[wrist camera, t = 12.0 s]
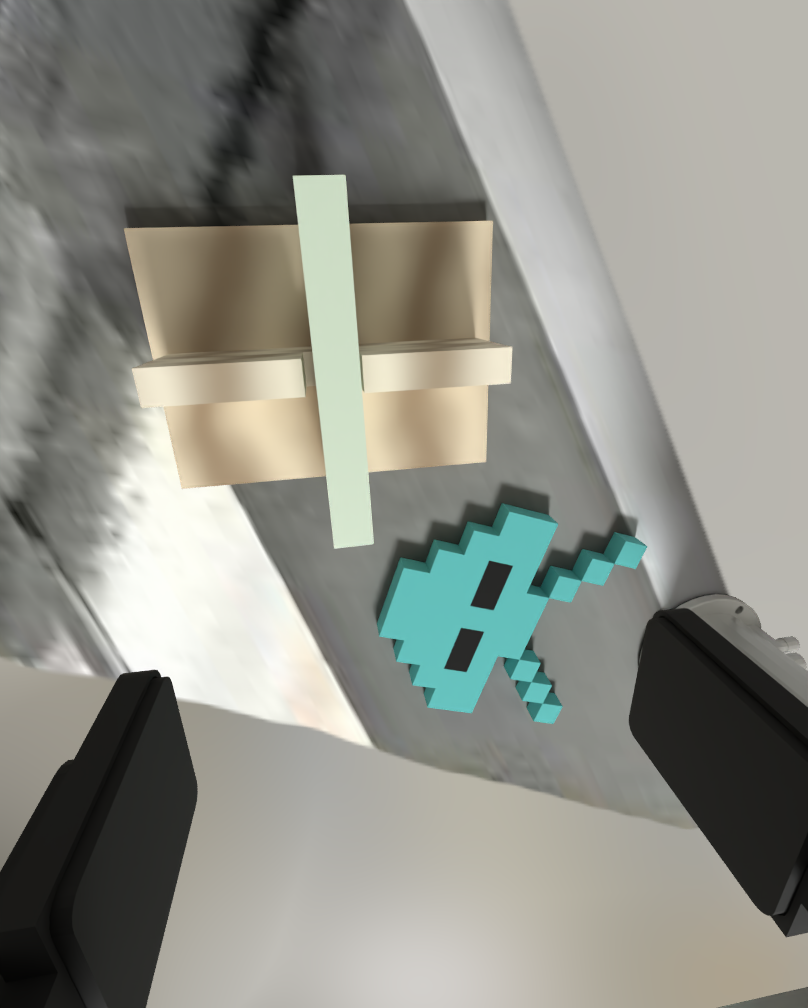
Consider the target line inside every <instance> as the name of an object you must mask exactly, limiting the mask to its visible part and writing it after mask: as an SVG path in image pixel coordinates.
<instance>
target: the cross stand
mask: <svg viewBox="0 0 808 1008" xmlns="http://www.w3.org/2000/svg"><path fill="white" fill-rule="evenodd" d="M349 227H350V240H351V253H352V266H353V280H354V293H355V306H356V319H357V332H358V345H359V358H360V371H361V384H362V397H363V410H364V423H365V436H366V449H367V462H368V472H377V471H388V470H399V469H410V468H422V467H433V466H444V465H456V464H467V463H478V462H486V443H487V408H488V385H495V384H510V383H511V364H512V347H510V346H506V345H502V344H498V343H494V342H490V341H489V336H490V301H491V265H492V229H493V221H460V222H411V223H362V224H349ZM124 232H125V237H126V241H127V245H128V250H129V254H130V259H131V263H132V268H133V272H134V277H135V281H136V286H137V290H138V295H139V299H140V304H141V308H142V313H143V317H144V321H145V326H146V330H147V335H148V339H149V344H150V348H151V353H152V357H153V360H152V361H150V362H147V363H145V364H142V365H139V366H137V367H134V368H132V372H133V376H134V380H135V384H136V388H137V392H138V396H139V401H140V405H141V408H150V407H164V411H165V415H166V420H167V424H168V429H169V433H170V438H171V442H172V447H173V451H174V455H175V460H176V464H177V469H178V473H179V478H180V482H181V487H182V489H185V488H196V487H207V486H218V485H230V484H241V483H252V482H264V481H275V480H286V479H297V478H309V477H320V476H326V469H325V460H324V451H323V442H322V433H321V424H320V415H319V406H318V397H317V388H316V379H315V371H314V362H313V353H312V344H311V335H310V326H309V317H308V308H307V299H306V290H305V281H304V272H303V263H302V254H301V245H300V236H299V227H298V225H263V226H214V227H165V228H124Z"/></svg>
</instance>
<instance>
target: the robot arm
mask: <svg viewBox="0 0 808 1008" xmlns="http://www.w3.org/2000/svg"><path fill="white" fill-rule="evenodd" d="M799 648H800V644H799V641H798V640H797V639H796V638H795V637H793V636H791V637H784V638H779V639H776V640H775V639H774V638H772V637H771V636H770V635H768V634H767V633H765V632H764V631H763V630H762V629H761V623H760V621H759V618H758V616H757V614H756V613H755V611H754V610H753V609H752V608H751V607H749V606H748V605H747V604H745V603H744V602H743V601H741V600H739V599H737V598H736V597H732V596H729V595H719V594H714V595H707V596H702V597H699V598H696V599H692V600H690V601H688V602H686V603H684V604H682V605H680V606H678V607H677V608H675V609H670V610H661V611H658V612H656V613H655V614H654V616H653V619H650V620H649V621H648V623H647V626H646V631H645V636H644V642H643V647H642V650H641V655H640V659H639V668H638V673H637V678H636V683H635V689H634V694H633V699H632V704H631V710H630V715H629V726H630V729H631V732H632V734H633V736H634V738H635V739H636V741H637V742H638V743H639V745H640V746H641V748H642V749H643V750H644V752H645V753H646V754H647V756H648V757H649V759H650V760H651V761H652V763H653V764H654V766H655V767H656V768H657V770H658V771H659V773H660V774H661V775H662V777H663V778H664V780H665V781H666V782H667V784H668V785H669V786H670V788H671V789H672V791H673V792H674V793H675V795H676V796H677V798H678V799H679V800H680V802H681V803H682V805H683V806H684V807H685V809H686V810H687V811H688V813H689V814H690V816H691V817H692V818H693V820H694V821H695V823H696V824H697V825H698V827H699V828H700V830H701V831H702V832H703V834H704V835H705V836H706V838H707V839H708V840H709V842H710V843H711V845H712V846H713V847H714V849H715V850H716V852H717V853H718V855H719V856H720V857H721V859H722V860H723V861H724V863H725V864H726V865H727V867H728V868H729V870H730V871H731V872H732V874H733V875H734V877H735V878H736V879H737V881H738V882H739V884H740V885H741V886H742V888H743V889H744V891H745V892H746V893H747V895H748V896H749V898H750V899H751V900H752V902H753V903H754V904H755V906H757V908H758V909H759V910H760V911H761V912H763V913H764V914H766V915H770V916H771V917H772V918H773V920H774V921H775V923H776V924H777V925H778V927H779V928H780V930H781V931H782V932H783V934H784V935H785V936H786V937H789V936H795V935H799V934H803V933H808V671H807V670H806V662H805V660H804V658H803V657H802V656H801V655H800V654H798V653H788V654H785V653H784V652H790V651H796V650H799ZM196 802H197V780H196V776H195V772H194V769H193V765H192V760H191V756H190V752H189V749H188V745H187V741H186V737H185V733H184V729H183V725H182V721H181V717H180V713H179V709H178V705H177V701H176V697H175V693H174V689H173V685H172V682H171V679H170V678H169V677H161V675H160V673H159V672H158V670H149V671H140V672H132V673H123V674H122V675H120V676H119V678H118V679H117V681H116V683H115V685H114V686H113V688H112V690H111V692H110V694H109V696H108V698H107V699H106V701H105V703H104V705H103V707H102V709H101V710H100V712H99V714H98V716H97V718H96V720H95V722H94V723H93V725H92V727H91V729H90V731H89V733H88V735H87V736H86V738H85V740H84V742H83V744H82V746H81V748H80V749H79V751H78V753H77V755H76V757H75V759H74V760H68V761H67V762H65V763H64V764H63V765H61V767H60V768H59V770H58V771H57V773H56V774H55V775H54V777H53V779H52V781H51V783H50V785H49V786H48V788H47V790H46V791H45V793H44V795H43V797H42V799H41V800H40V802H39V804H38V806H37V807H36V809H35V811H34V813H33V815H32V816H31V818H30V820H29V822H28V824H27V825H26V827H25V829H24V831H23V833H22V834H21V836H20V838H19V839H18V841H17V843H16V845H15V847H14V848H13V850H12V852H11V854H10V855H9V857H8V859H7V861H6V863H5V865H4V866H3V868H2V870H1V872H0V1008H146V1004H147V1000H148V996H149V992H150V988H151V984H152V980H153V976H154V972H155V968H156V964H157V960H158V956H159V952H160V948H161V944H162V940H163V936H164V932H165V928H166V924H167V920H168V916H169V912H170V908H171V903H172V900H173V895H174V891H175V887H176V883H177V879H178V875H179V871H180V867H181V863H182V859H183V855H184V851H185V847H186V843H187V839H188V834H189V831H190V826H191V823H192V819H193V814H194V811H195V806H196ZM718 1008H808V987H806V988H802V989H797V990H793V991H789V992H784V993H779V994H775V995H771V996H766V997H762V998H758V999H754V1000H749V1001H744V1002H740V1003H736V1004H731V1005H727V1006H723V1007H718Z"/></svg>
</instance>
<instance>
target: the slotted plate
mask: <svg viewBox="0 0 808 1008" xmlns="http://www.w3.org/2000/svg"><path fill="white" fill-rule="evenodd" d="M293 182H294V191H295V200H296V209H297V218H298V227H299V236H300V245H301V254H302V263H303V272H304V281H305V290H306V299H307V308H308V317H309V326H310V335H311V344H312V353H313V362H314V371H315V379H316V388H317V397H318V406H319V415H320V424H321V433H322V442H323V451H324V460H325V469H326V478H327V487H328V496H329V505H330V514H331V523H332V532H333V541H334V549H335V548H344V547H353V546H361V545H370V544H374V541H373V528H372V515H371V502H370V489H369V476H368V462H367V449H366V436H365V423H364V410H363V397H362V384H361V371H360V358H359V345H358V332H357V319H356V306H355V293H354V280H353V266H352V253H351V240H350V227H349V214H348V201H347V188H346V175H308V176H293Z"/></svg>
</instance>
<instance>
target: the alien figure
mask: <svg viewBox="0 0 808 1008" xmlns="http://www.w3.org/2000/svg"><path fill="white" fill-rule="evenodd" d="M557 526H558V523H557V522H556V521H554V520H553V519H552V518H551V517H550V516H549V515H546V514H542V513H539V512H535V511H531V510H527V509H523V508H519V507H515V506H511V505H507V504H504V503H502V504H501V506H500V509H499V511H498V514H497V516H496V519H495V521H494V523H493V526H492V527H490V526H485V525H481V524H477V523H473V522H469V521H468V522H467V525H466V527H465V530H464V532H463V535H462V537H461V540H460V543H459V545H457V544H452V543H448V542H444V541H439V540H435V539H434V541H433V543H432V546H431V549H430V551H429V554H428V557H427V560H426V562H420V561H415V560H411V559H406V558H401V557H400V560H399V563H398V565H397V568H396V571H395V574H394V577H393V580H392V583H391V585H390V588H389V591H388V594H387V597H386V600H385V602H384V605H383V608H382V611H381V614H380V617H379V619H378V622H377V627H378V632H379V636H380V637H386V638H392V639H397V640H396V643H395V646H394V653H395V657H396V662H403V663H409V664H412V665H411V668H410V671H409V673H410V677H411V681H412V685H415V686H422V687H426V689H425V692H424V696H425V700H426V703H427V707H428V708H436V709H444V710H451V711H459V712H467V713H472V711H473V709H474V707H475V705H476V703H477V700H478V698H479V696H480V694H481V692H482V689H483V687H484V685H485V683H486V681H487V678H488V676H489V674H490V672H491V670H492V668H493V665H494V663H495V661H496V659H497V657H498V656H500V657H506V658H507V660H506V663H505V665H504V667H505V669H506V671H507V673H508V675H509V677H510V679H513V680H519V681H518V683H517V686H516V689H517V691H518V693H519V695H520V697H521V699H522V701H528V702H529V704H528V706H527V709H528V711H529V713H530V715H531V717H532V719H533V721H536V722H543V723H551V724H554V722H555V720H556V718H557V716H558V714H559V712H560V710H561V708H562V707H563V706H562V705H561V703H560V701H559V700H558V698H557V696H556V695H555V693H549V690H550V688H551V686H552V685H551V683H550V681H549V680H548V678H547V676H546V675H545V673H543V672H537V670H538V668H539V666H540V664H541V663H540V661H539V659H538V658H537V656H536V655H535V653H534V651H531V650H525V647H526V645H527V643H528V641H529V639H530V637H531V635H532V633H533V631H534V628H535V626H536V624H537V622H538V620H539V618H540V616H541V614H542V612H543V610H544V607H545V605H546V603H547V601H548V599H549V598H551V599H556V600H561V601H566V602H571V601H572V599H573V597H574V595H575V593H576V591H577V589H578V587H579V585H580V583H581V581H584V582H589V583H593V584H598V585H602V586H603V585H604V583H605V581H606V579H607V577H608V575H609V573H610V571H611V570H612V568H613V566H614V564H617V565H622V566H626V567H630V568H634V569H636V567H637V565H638V563H639V562H640V560H641V558H642V556H643V554H644V552H645V550H646V548H647V546H646V545H645V544H643V543H642V542H641V541H639V540H638V539H637V538H635V537H632V536H628V535H624V534H620V533H616V532H614V534H613V536H612V538H611V540H610V542H609V544H608V546H607V548H606V550H605V552H604V554H601V553H597V552H593V551H589V550H585V549H582V551H581V553H580V555H579V557H578V559H577V561H576V563H575V565H574V567H573V569H572V570H567V569H563V568H558V567H554V566H550V568H549V570H548V572H547V574H546V576H545V579H544V581H543V583H542V585H541V587H538V586H533V585H531V582H532V580H533V578H534V576H535V574H536V571H537V569H538V567H539V565H540V563H541V561H542V558H543V556H544V554H545V552H546V550H547V547H548V545H549V543H550V541H551V539H552V536H553V534H554V532H555V530H556V528H557Z"/></svg>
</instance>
